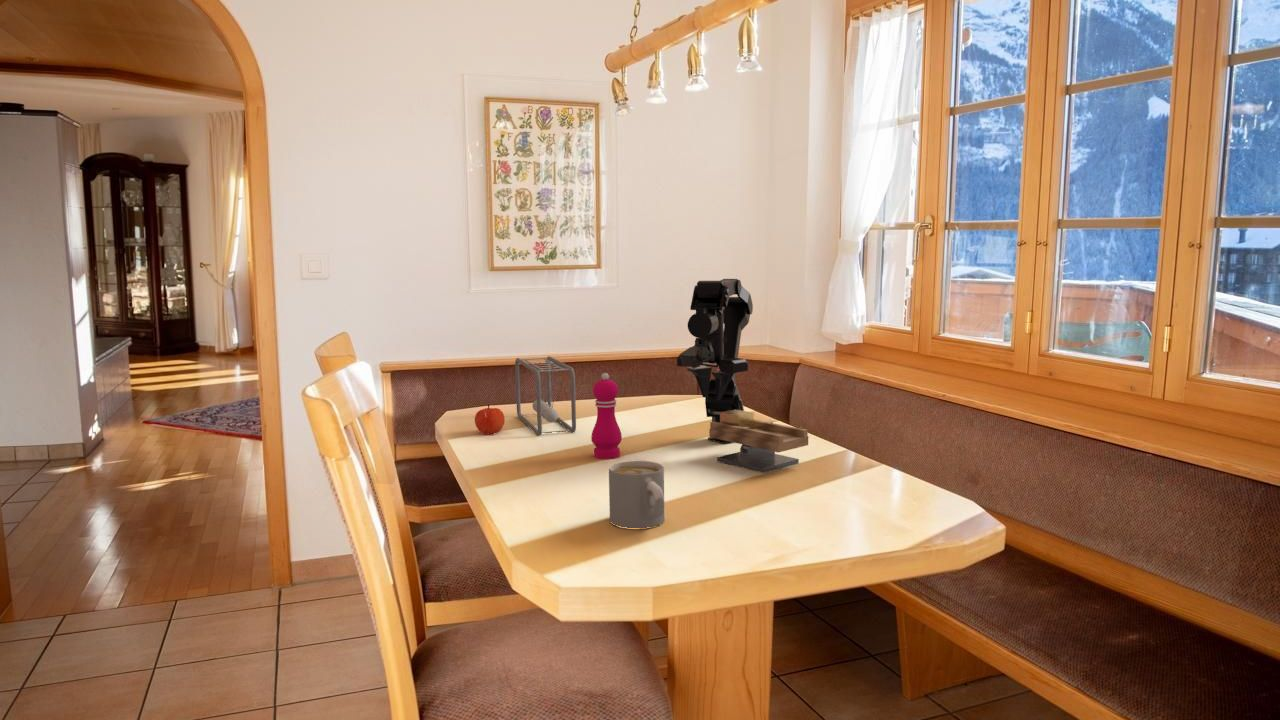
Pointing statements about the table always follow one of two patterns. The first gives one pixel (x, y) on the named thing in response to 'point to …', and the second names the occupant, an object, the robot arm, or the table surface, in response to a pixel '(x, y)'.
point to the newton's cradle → (540, 405)
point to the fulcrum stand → (757, 459)
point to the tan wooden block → (737, 418)
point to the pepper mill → (606, 420)
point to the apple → (489, 420)
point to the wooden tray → (761, 435)
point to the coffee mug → (636, 494)
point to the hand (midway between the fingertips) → (711, 398)
